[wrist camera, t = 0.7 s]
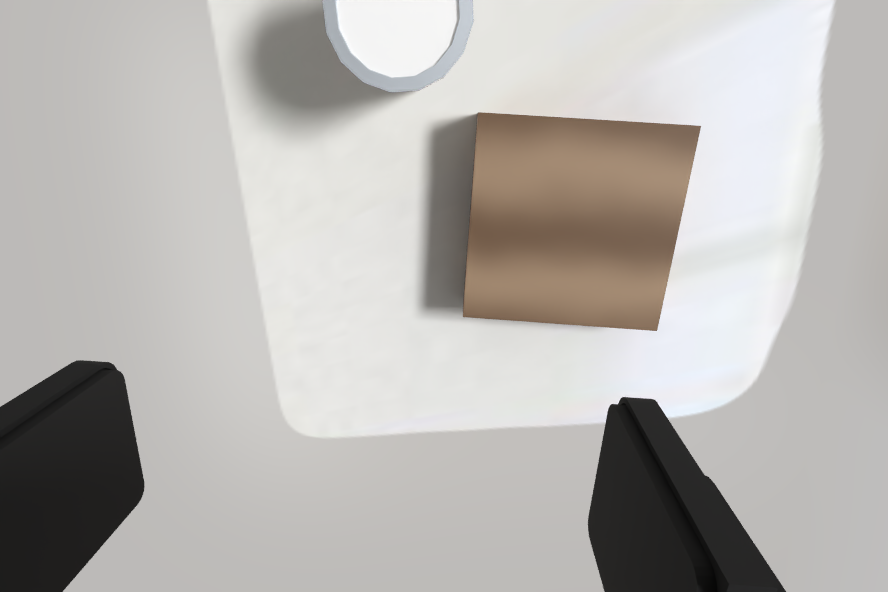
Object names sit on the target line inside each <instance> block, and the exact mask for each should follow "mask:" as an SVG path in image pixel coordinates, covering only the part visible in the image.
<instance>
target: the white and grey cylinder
mask: <svg viewBox="0 0 888 592" xmlns="http://www.w3.org/2000/svg"><path fill="white" fill-rule="evenodd" d="M322 2H323V10H324V18H325V26H326V33H327V35H328V37H329V39H330V41H331V43H332V45H333V47H334V49H335V51H336V53H337V55H338V57H339V59H340V61H341V63H343V64H344V65H345V66H346V67H347V68H348V69H349V70H350V71H351V72H352V73H353V74H355V75H356V76H357V77H358V78H359V79H360V80H361V81H362V82H363V83H366V84H369V85H371V86H374V87H377V88H380V89H382V90H385V91H388V92H404V91H418V90H421V89H423V88H425V87H427V86H429V85H431V84H433V83H435V82H436V81H438V80H440V79H442V78H444V77H445V75H446V74H447V73H448V72H449V70H450V69H451V68H452V67H453V65H454V64H455V63H456V62H457V60H458V59H459V58H460V57H461V55H462V54H463V53H464V50H465V47H466V44H467V40H468V37H469V34H470V31H471V28H472V25H473V22H474V19H473V0H322Z"/></svg>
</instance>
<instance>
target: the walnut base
mask: <svg viewBox="0 0 888 592" xmlns="http://www.w3.org/2000/svg"><path fill="white" fill-rule="evenodd" d="M700 128H701V126H692V125H676V124H660V123H643V122H627V121H610V120H594V119H578V118H561V117H545V116H528V115H512V114H495V113H479V112H478V115H477V128H476V141H475V155H474V168H473V181H472V194H471V208H470V221H469V234H468V248H467V261H466V274H465V287H464V301H463V317H472V318H485V319H499V320H513V321H527V322H541V323H555V324H568V325H582V326H596V327H610V328H624V329H638V330H651V331H657V328H658V323H659V319H660V314H661V309H662V305H663V300H664V295H665V291H666V286H667V281H668V277H669V272H670V268H671V263H672V258H673V254H674V249H675V244H676V240H677V235H678V230H679V226H680V221H681V216H682V212H683V207H684V202H685V198H686V193H687V188H688V184H689V179H690V174H691V170H692V165H693V160H694V156H695V151H696V147H697V142H698V137H699V133H700Z"/></svg>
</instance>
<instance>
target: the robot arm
mask: <svg viewBox="0 0 888 592" xmlns="http://www.w3.org/2000/svg"><path fill="white" fill-rule="evenodd" d="M143 492H144V479H143V474H142V468H141V463H140V458H139V453H138V447H137V442H136V437H135V431H134V427H133V421H132V416H131V410H130V405H129V400H128V395H127V389H126V384H125V379H124V376H123V374H122V373H121V372H120V371H118V370H117V369H116V367H115V366H114V365H113V364H111V363H109V362H96V361H75V362H73V363H71V364H69V365H68V366H66V367H64V368H63V369H61V370H59V371H58V372H56V373H55V374H53V375H51V376H50V377H48V378H46V379H45V380H43V381H42V382H40V383H38V384H37V385H35V386H34V387H32V388H30V389H29V390H27V391H26V392H24V393H22V394H21V395H19V396H17V397H16V398H14V399H12V400H11V401H9V402H8V403H6V404H4V405H3V406H1V407H0V592H63V590H64V589H65V588H66V587H67V586H68V585H69V584H70V582H71V581H72V580H73V579H74V578H75V577H76V575H77V574H78V573H79V572H80V571H81V570H82V568H83V567H84V566H85V565H86V563H88V561H89V560H90V559H91V558H92V557H93V556H94V554H95V553H96V552H97V551H98V550H99V549H100V547H101V546H102V545H103V544H104V543H105V542H106V540H107V539H108V538H109V537H110V536H111V535H112V534H113V532H114V531H115V530H116V529H117V528H118V526H119V525H120V524H121V523H122V522H123V521H124V519H125V518H126V517H127V516H128V515H129V514H130V513H131V511H132V510H133V509H134V508H135V507H136V506H137V504H138V503H139V501H140V500H141V498H142V495H143ZM588 531H589V537H590V541H591V545H592V548H593V552H594V556H595V559H596V562H597V566H598V570H599V573H600V577H601V580H602V584H603V588H604V591H605V592H786V591H785V589H784V588H783V586H782V585H781V583H780V582H779V580H778V579H777V577H776V576H775V574H774V573H773V571H772V570H771V568H770V567H769V565H768V564H767V562H766V561H765V559H764V558H763V556H762V555H761V553H760V552H759V550H758V549H757V547H756V546H755V544H754V543H753V541H752V540H751V538H750V537H749V535H748V534H747V532H746V531H745V529H744V528H743V526H742V525H741V523H740V522H739V520H738V519H737V517H736V516H735V514H734V512H733V511H732V510H731V508H730V506H729V505H728V503H727V502H726V501H725V499H724V497H723V496H722V495H721V493H720V491H719V490H718V488H717V487H716V485H715V484H714V483H713V482H712V480H711V479H710V478H709V477H707V476H705V475H704V474H703V472H702V471H701V469H700V468H699V466H698V465H697V463H696V462H695V460H694V459H693V457H692V455H691V454H690V452H689V451H688V449H687V448H686V446H685V445H684V443H683V442H682V440H681V439H680V437H679V436H678V434H677V433H676V431H675V429H674V428H673V426H672V425H671V423H670V422H669V420H668V419H667V417H666V416H665V414H664V412H663V411H662V409H661V408H660V406H659V405H658V403H657V402H656V401H655V400H654V399H643V398H628V397H622V398H621V399H620V401H619V403H618V405H617V404H611V405H610V407H609V409H608V414H607V419H606V425H605V430H604V436H603V441H602V447H601V452H600V457H599V463H598V468H597V474H596V479H595V484H594V490H593V495H592V501H591V506H590V512H589V518H588Z"/></svg>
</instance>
